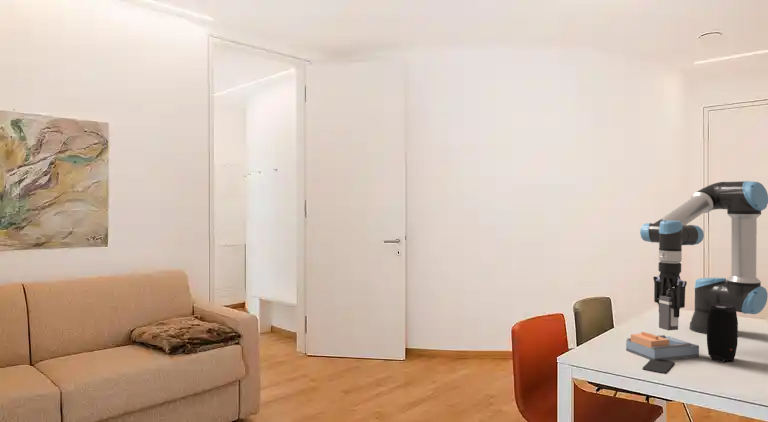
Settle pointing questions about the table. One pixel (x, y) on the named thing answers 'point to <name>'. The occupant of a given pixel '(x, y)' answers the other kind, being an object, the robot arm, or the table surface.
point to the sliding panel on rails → (664, 349)
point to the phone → (658, 366)
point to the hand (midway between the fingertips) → (668, 324)
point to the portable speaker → (722, 332)
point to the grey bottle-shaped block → (666, 312)
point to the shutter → (649, 340)
